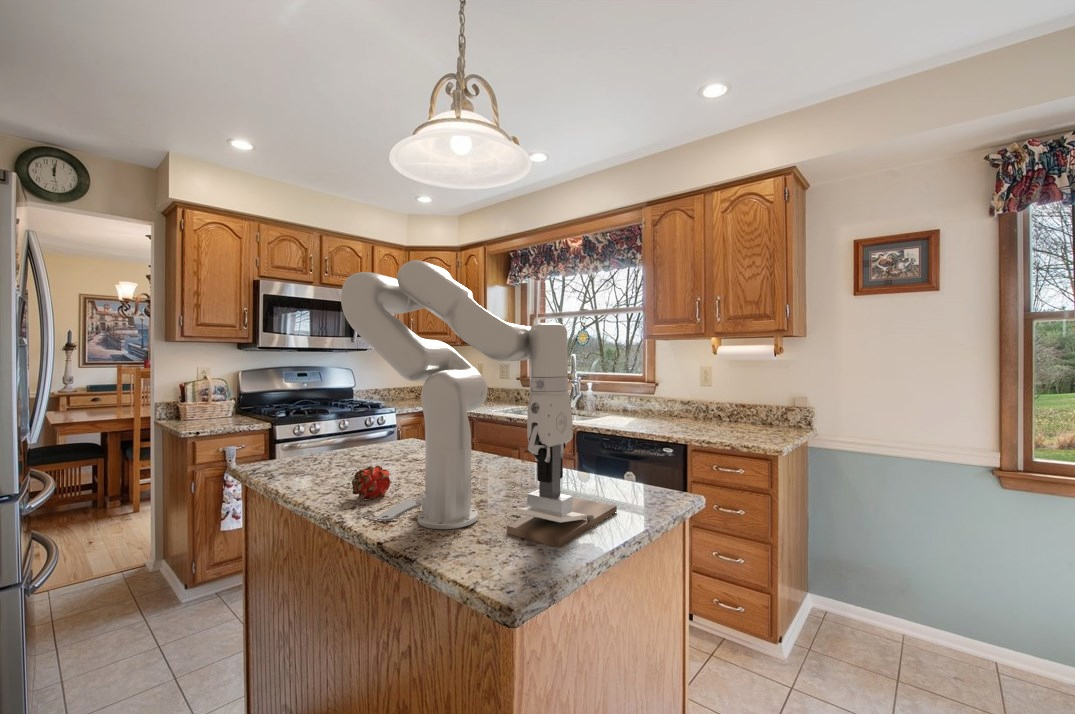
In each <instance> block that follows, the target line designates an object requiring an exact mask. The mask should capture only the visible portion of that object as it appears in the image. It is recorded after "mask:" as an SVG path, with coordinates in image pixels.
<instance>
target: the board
mask: <svg viewBox="0 0 1075 714" xmlns="http://www.w3.org/2000/svg"><path fill="white" fill-rule="evenodd" d="M617 506H618V505H615V504H610V503H609V504H608V503H604V502H599V501H594V500H593V501H592V500H589V499H588V500H587V499H583V498H578V497H573V505H572V512H576V513H580V514H585V515H587V516H586V519H582V520H575V521H568V522H560V523H559V522H555V521H550V520H546V519H542V518H538V517H533V516H529V515H526V516H525V517H523V518H521V519H519V520H517V521H515V522H512V523H510V524H508V525H506V534H508V535H510V536H515V537H518V538H523V539H526V540H530V541H532V542H536V543H541V544H544V545H549V546H552V547H555V546H556V548H560V547H562V546H564V545H566V544H567V543H568V541H569V542H570V541H573V539H576V538H577V537H578V536H581V535H582V534H584V533H585V532H587V531H589V530H591V529H592V528H594V527H595V526H597V525H599V524H600V523H602V522H603V521H602V520H604V519H605V520H607V519H608V518H607V517H609V516H610V517H612V516H613V515H612V514H614V513H615V512H618V511H617ZM615 514H616V513H615ZM615 514H614V515H615ZM611 515H612V516H611ZM610 517H609V518H610ZM606 518H607V519H606ZM605 520H604V521H605ZM601 521H602V522H601ZM599 522H600V523H599ZM598 523H599V524H598ZM596 524H597V525H596ZM594 525H595V526H594ZM593 526H594V527H593ZM591 527H592V528H591ZM588 529H589V530H588ZM583 532H584V533H583Z"/></svg>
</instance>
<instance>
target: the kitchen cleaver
mask: <svg viewBox="0 0 1075 714" xmlns="http://www.w3.org/2000/svg"><path fill="white" fill-rule="evenodd" d="M406 500H407V501H404V502H403V503H400V504H397V505H396V506H393V507H392V508H390V509H389V510H387V511H385V512H383V513H381V514H380V515H379V516H377V517H374V518H372V519H377V520H382V521H391V520H393V519H395V518H396V517H397V516H399V515H401V514H403V513H404V514H406V513H408V512H407V511H409V512H411V511H412V509H413V510H415V509H418V508H420V507H422V506H421V505H418V504H416V499H406ZM419 506H420V507H419ZM417 507H418V508H417ZM414 508H415V509H414ZM410 510H411V511H410ZM405 512H406V513H405ZM404 514H403V515H404ZM401 516H402V515H401ZM382 517H386V518H382ZM399 517H400V516H399ZM397 518H398V517H397ZM397 518H396V519H397ZM396 519H395V520H396ZM391 522H392V521H391Z"/></svg>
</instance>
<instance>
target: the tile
mask: <svg viewBox="0 0 1075 714" xmlns="http://www.w3.org/2000/svg"><path fill="white" fill-rule="evenodd" d="M517 513H518V514H521V515H526V516H533V517H538V518H542V519H546V520H550V521H555V522H559V523H560V522H568V521H575V520H582V519H586V516H587V515H585V514H580V513H576V512H571V513H569V514H567V515H565V516H563V517H559V516H555V515H550V514H546V513H542V512H538V511H534V510H529V509H527V507H518V508H517Z"/></svg>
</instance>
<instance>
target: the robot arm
mask: <svg viewBox="0 0 1075 714" xmlns="http://www.w3.org/2000/svg"><path fill="white" fill-rule="evenodd" d="M397 271H398V272H397V275H396V277H392V276H387V275H384V274H380V273H376V272H370V271H360V272H357V273H353V274H351V275H349V276H348V277H347V278H346V279H345V281H344V282H343V285H342V288H341V293H340V294H341V295H340V303H341V309H342V312H343V314H344V317H345V320H346V321H347V322H348V324H349V325H350V327H351V328H352V330H354V331H355V333H356V334H357V335H358V336H360V338H362V340H364V342H366V343H367V344H368V345H369V346H371V347H372V348H373V349H374V350H375V352H377V354H378V355H380V357H381V358H383V360H384V361H386V362H387V364H388V365H389V366H391V367H392V368H393V369H394V370H395V371H396V372H397V374H399V376H401V377H402V378H403V379H405V380H407V381H409V382H416V383H417V382H423V385H422V388H421V392H420V393H421V394H420V398H421V401H420V402H421V406H422V412H423V419H424V431H425V432H424V434H425V435H424V437H425V438H424V439H425V443H424V444H425V445H424V447H425V451H424V452H425V457H424V458H425V464H424V465H425V466H424V467H425V468H424V469H425V470H424V471H425V472H424V473H425V476H424V477H425V480H424V481H425V482H424V484H425V485H424V486H425V488H424V489H425V490H424V492H422V493H420V496H419V497H416V498H415V500H416V504H418V505H422V506H421V507H422V508H421V510H422V511H420V512H419V513H418V515H417V523H418V525H420V526H422V527H423V528H428V529H433V530H454V529H460V528H465V527H467V526H470V525H473V524H474V523H476V522H477V521H478V519H479V511H477V509H476V508H473V507H472V433H471V432H472V430H471V425H470V421H469V420H470V419H469V416H468V412H470V411H474V410H476V409H478V408H480V407H481V406H483V404H484V403H485V401H486V400H487V397H488V392H489V391H488V384H487V382H486V379H485V378H484V376H483V375H482V374H481V372H479V371H478V370H477V369H476V368H475V367H474V366H473V365H472V364H471V363H469V361H467V360H466V359H465V358H464V357H463V356H462V355H461V354H459V352H458V351H456V350H455V349H454V348H453V347H452V346H451V345H449V344H447V343H446V342H443V341H441V340H437V339H428V338H423V337H420V336H418V335H417V334H416V332H413V331H412V330H411V329H410V328H409V327H408V326H407V325H406V324H405V323H404V322H402V321H401V320H400V319H399V318H397V317H396V316H395V315H401V314H407V313H410V312H415V311H418V310H423V309H425V310H427V311H428V312H430V313H431V314H433V315H434V316H436V318H438V319H440V320H441V321H443V322H445V323H446V324H447V325H448V327H449V328H450V329H451V330H452V332H454V334H455V335H457V337H459V338H460V340H463V342H465V343H466V344H468V345H469V346H471V347H472V348H473V349H474V350H476V351H478V352H479V353H481V354H482V355H483V356H485V357H487V358H489V359H491V360H494V361H498V362H520V361H527V360H529V398H528V406H527V407H528V408H527V421H526V422H527V423H526V424H527V429H526V430H527V433H526V434H527V441H528V442H527V443H528V446H527V451H528V452H530V453H531V454H533V456H534V460H535V461H536V477H537V478H536V479H537V481H538V482H539V481H541V482H547V483H551V482H552V462H550V450H551V447H552V446H556V445H559V444H561V479H563V477H564V474H563V473H564V471H563V470H564V469H563V467H564V466H563V465H564V464H563V461H564V460H563V458H564V457H565V452H564V451H565V449H566V446H567V445H568V443H569V442H570V441H571V440H572V439H573V437H574V432H573V431H574V429H573V427H574V426H573V425H574V424H573V423H574V422H573V412H572V404H571V398H570V393H569V391H568V390H569V387H568V386H569V384H568V382H569V381H568V380H569V377H568V376H569V375H568V371H569V370H568V367H569V366H568V329H567V327H566V326H565V325H564V324H561V323H555V322H545V323H544V322H541V323H535V324H533V325H531V326H529V325H527V326H526V325H520V324H517V323H511V322H507V321H504V320H502V319H501V318H500V317H497V316H496V315H494V314H493V313H492V312H490V311H488V310H487V309H485V308H484V307H482V306H481V305H479V303H477V301H475V300H474V294H473V292H472V291H471V290H470V289H468V288H467V287H465V286H464V285H462V284H461V283H459V282H458V281H456V280H455V279H453V277H452V275H451V274H450V273H449V272H448V271H447V270H446V269H445V268H442V267H440V266H438V265H436V264H435V265H434V264H432V263H429V262H427V261H423V260H417V259H416V260H415V259H413V260H410V261H407V262H405V263H404V264H402V265H401V267H400V268H399V269H398V270H397ZM541 443H542V444H545V445H542V444H541ZM541 448H545V452H544V451H543V450H542V449H541Z"/></svg>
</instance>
